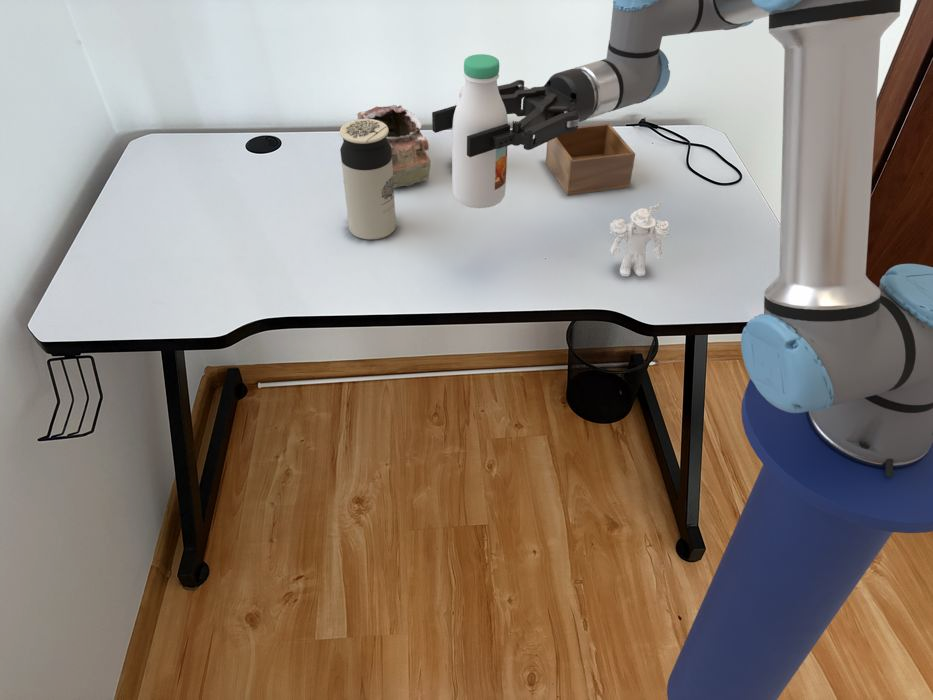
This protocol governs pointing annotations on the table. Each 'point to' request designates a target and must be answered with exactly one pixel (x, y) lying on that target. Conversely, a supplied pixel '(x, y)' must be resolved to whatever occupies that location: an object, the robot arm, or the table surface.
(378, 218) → the travel mug
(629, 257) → the flower shoulder figurine
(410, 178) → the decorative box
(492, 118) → the milk bottle
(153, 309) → the table surface
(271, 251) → the table surface
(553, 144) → the wooden box
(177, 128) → the table surface
